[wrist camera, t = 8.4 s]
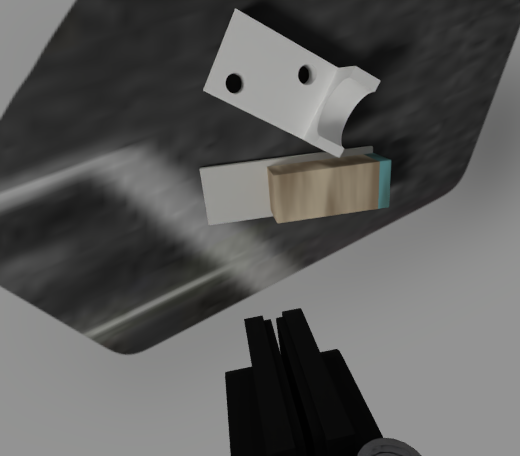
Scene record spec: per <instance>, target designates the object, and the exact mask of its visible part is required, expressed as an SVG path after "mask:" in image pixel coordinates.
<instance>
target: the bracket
mask: <svg viewBox="0 0 520 456" xmlns="http://www.w3.org/2000/svg"><path fill="white" fill-rule="evenodd" d="M302 66H305V67H306V68H307V69H308V71H309V78H308V80H307V82H306V83H305V84H302V83H301V82H300V81H299V78H298V72H299V69H300V68H301V67H302ZM230 74H236V75H238V76H239V77H240V79H241V82H242V85H241V88H240V90H239V91H238V92H236V93H230V92H229V91H228V90H227V88H226V79H227V77H228V76H229V75H230ZM379 83H380V80H379V79H377V78H375V77H374V76H372V75H370V74H368V73H367V72H365V71H363V70H362V69H360V68H358V67H357V66H350V67H341V68H338V67H336V66H334V65H332V64H331V63H329V62H327V61H325V60H324V59H322V58H320V57H319V56H317V55H315V54H313V53H312V52H310V51H308V50H306V49H305V48H303V47H301V46H300V45H298V44H296V43H294V42H293V41H291V40H289V39H287V38H286V37H284V36H282V35H280V34H279V33H277V32H275V31H274V30H272V29H270V28H268V27H267V26H265V25H263V24H261V23H260V22H258V21H256V20H254V19H253V18H251V17H249V16H248V15H246V14H244V13H242V12H241V11H239V10H237V9H235V11H234V13H233V15H232V18H231V21H230V23H229V26H228V28H227V31H226V33H225V36H224V38H223V41H222V44H221V46H220V49H219V51H218V54H217V56H216V59H215V61H214V64H213V66H212V69H211V72H210V74H209V77H208V79H207V82H206V84H205V87H204V89H203V91H205V92H207V93H209V94H211V95H213V96H215V97H217V98H219V99H221V100H224V101H226V102H228V103H230V104H232V105H234V106H236V107H238V108H240V109H242V110H244V111H246V112H248V113H250V114H252V115H254V116H256V117H258V118H260V119H262V120H264V121H266V122H268V123H270V124H273V125H275V126H277V127H279V128H281V129H283V130H285V131H287V132H289V133H291V134H293V135H295V136H297V137H299V138H301V139H303V140H305V141H307V142H308V143H310V144H312V145H314V146H316V147H318V148H320V149H322V150H324V151H326V152H328V153H330V154H332V155H334V156H336V157H338V158H340V156H341V154H342V152H343V150H344V148H343V146H342V144H341V136H342V132H343V129H344V126H345V123H346V121H347V119H348V117H349V115H350V114H351V112H352V110H353V109H354V108H355V106H356V105H357V104H358V103H359V101H360V100H361V99H362V98H363V97H365V96H366V95H367V94H369V93H371V92H375V91H376V89H377V87H378V85H379Z"/></svg>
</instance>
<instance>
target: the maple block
mask: <svg viewBox="0 0 520 456" xmlns="http://www.w3.org/2000/svg"><path fill="white" fill-rule="evenodd" d="M267 174H268V186H269V197H270V208H271V212H272V214H273V216H274V218H275V219H276V221H277V223H284V222H291V221H297V220H304V219H311V218H318V217H325V216H331V215H338V214H345V213H352V212H358V211H365V210H372V209H379V208H386V207H389V196H390V176H391V160H390V159H387V158H385V157H382V156H380V155H377V154H375V153H369V154H362V155H354V156H346V157H340V158H331V159H323V160H316V161H308V162H300V163H293V164H285V165H277V166H270V167H267Z"/></svg>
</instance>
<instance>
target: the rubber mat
mask: <svg viewBox="0 0 520 456" xmlns="http://www.w3.org/2000/svg"><path fill="white" fill-rule="evenodd" d="M369 153H373V146H365V147H357V148H350V149H344V150H343V152H342V154H341V156H340V157H346V156H354V155H362V154H369ZM331 158H338V157H336V156H334V155H332V154H330V153H328V152H318V153H311V154H303V155H295V156H287V157H279V158H272V159H264V160H256V161H248V162H240V163H233V164H225V165H217V166H209V167H202V168H200V175H201V181H202V187H203V193H204V199H205V205H206V211H207V217H208V223H209V225H215V224H222V223H229V222H236V221H243V220H250V219H256V218H263V217H270V216H273V214H272V212H271V208H270V197H269V186H268V174H267V167H270V166H277V165H285V164H293V163H300V162H308V161H316V160H323V159H331Z"/></svg>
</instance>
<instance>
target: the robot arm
mask: <svg viewBox="0 0 520 456" xmlns="http://www.w3.org/2000/svg"><path fill="white" fill-rule="evenodd" d="M244 321H245V327H246V333H247V338H248V345H249V351H250V357H251V363H252V367H248V368H243V369H238V370H234V371H229V372H226V373H225V380H226V394H227V407H228V422H229V437H230V451H231V456H421V455H420V454H419V453H418V452H417V451H416V450H415V449H414V448H412V447H411V446H409V445H407V444H406V443H404V442H401V441H399V440H396V439H391V438H383V436H382V434H381V432H380V430H379V428H378V426H377V424H376V422H375V420H374V418H373V416H372V414H371V412H370V410H369V408H368V406H367V404H366V402H365V400H364V399H363V396H362V394H361V392H360V390H359V388H358V386H357V384H356V383H355V380H354V378H353V377H352V374H351V372H350V370H349V369H348V367H347V365H346V363H345V361H344V359H343V357H342V355H341V353H340V351H339V350H337V349H334V350H330V351H325V352H320V351H319V349H318V347H317V344H316V342H315V340H314V337H313V335H312V332H311V330H310V328H309V326H308V323H307V321H306V319H305V316H304V314H303V312H302V310H301V308H299V309H294V310H289V311H283V312H282V317H279V318H276V323H277V329H278V338H279V345H280V351H279V347H278V344H277V340H276V337H275V333H274V329H273V326H272V322H271V319H269V320H264V319H263V316H258V317H253V318H248V319H244ZM280 353H281V354H280Z"/></svg>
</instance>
